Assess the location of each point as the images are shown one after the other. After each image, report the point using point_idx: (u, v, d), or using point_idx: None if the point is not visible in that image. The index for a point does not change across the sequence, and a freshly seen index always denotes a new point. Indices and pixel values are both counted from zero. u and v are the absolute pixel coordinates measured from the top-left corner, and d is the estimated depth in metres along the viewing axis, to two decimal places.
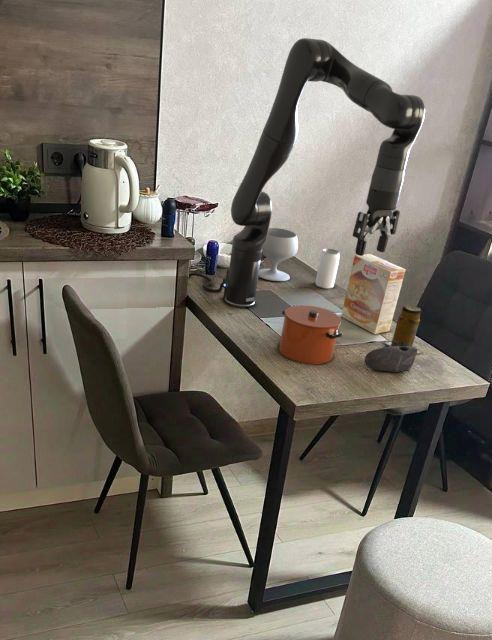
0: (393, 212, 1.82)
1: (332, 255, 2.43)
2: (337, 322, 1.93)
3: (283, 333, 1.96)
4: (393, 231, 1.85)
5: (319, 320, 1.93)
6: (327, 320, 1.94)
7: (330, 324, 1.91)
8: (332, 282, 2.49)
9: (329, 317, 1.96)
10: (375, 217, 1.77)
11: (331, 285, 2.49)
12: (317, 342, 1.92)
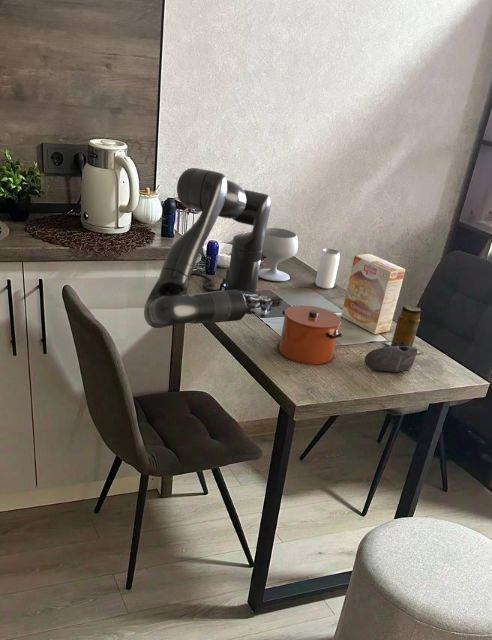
0: None
1: (332, 255, 2.43)
2: (337, 322, 1.93)
3: (283, 333, 1.96)
4: None
5: (319, 320, 1.93)
6: (327, 320, 1.94)
7: (330, 324, 1.91)
8: (332, 282, 2.49)
9: (329, 317, 1.96)
10: None
11: (331, 285, 2.49)
12: (317, 342, 1.92)
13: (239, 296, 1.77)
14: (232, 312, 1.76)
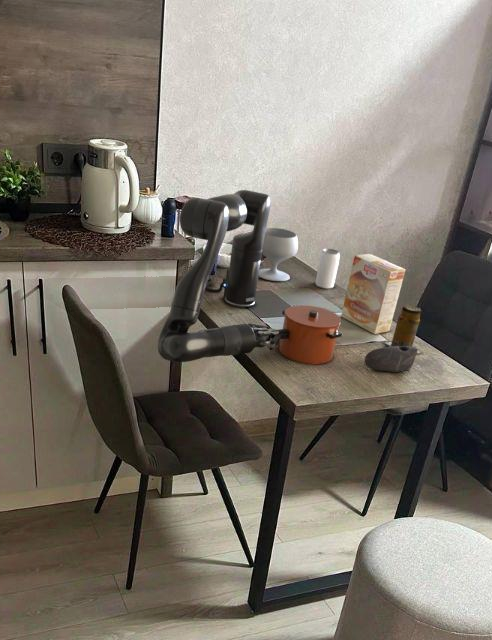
0: None
1: (332, 255, 2.43)
2: (337, 322, 1.93)
3: None
4: None
5: (319, 320, 1.93)
6: (327, 320, 1.94)
7: (330, 324, 1.91)
8: (332, 282, 2.49)
9: (329, 317, 1.96)
10: None
11: (331, 285, 2.49)
12: (317, 342, 1.92)
13: (249, 331, 1.84)
14: (242, 346, 1.84)
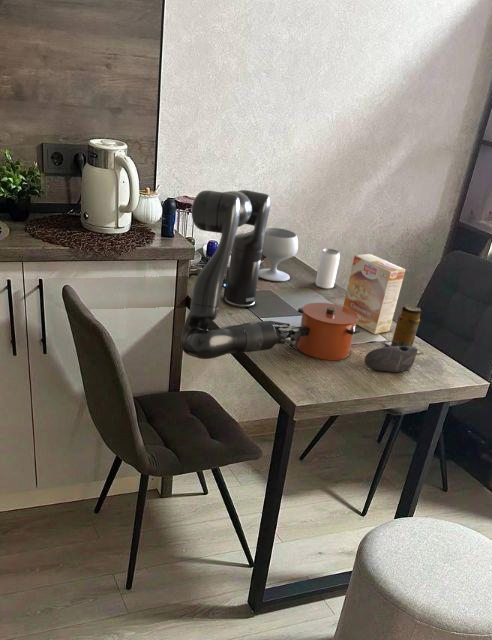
0: None
1: (332, 255, 2.43)
2: (355, 318, 1.97)
3: None
4: None
5: (338, 317, 1.96)
6: (345, 316, 1.98)
7: (349, 320, 1.95)
8: (332, 282, 2.49)
9: (346, 313, 2.00)
10: None
11: (331, 285, 2.49)
12: (338, 339, 1.95)
13: (270, 328, 1.87)
14: (263, 343, 1.87)
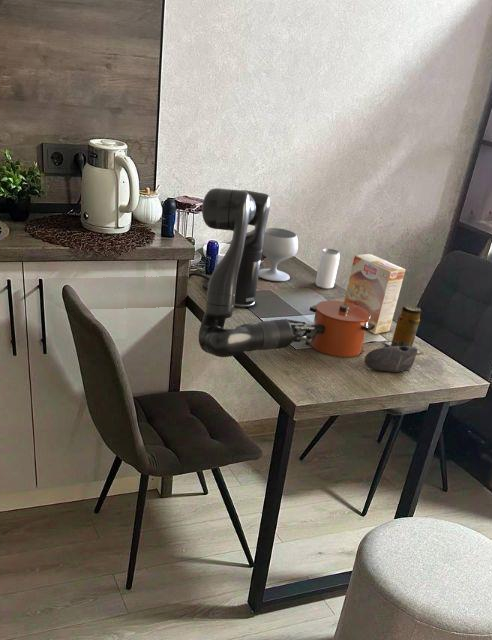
0: None
1: (332, 255, 2.43)
2: (368, 314, 2.01)
3: None
4: None
5: (352, 314, 1.99)
6: (358, 313, 2.01)
7: (363, 317, 1.99)
8: (332, 282, 2.49)
9: (358, 310, 2.03)
10: None
11: (331, 285, 2.49)
12: (353, 336, 1.98)
13: (286, 326, 1.89)
14: (280, 341, 1.89)
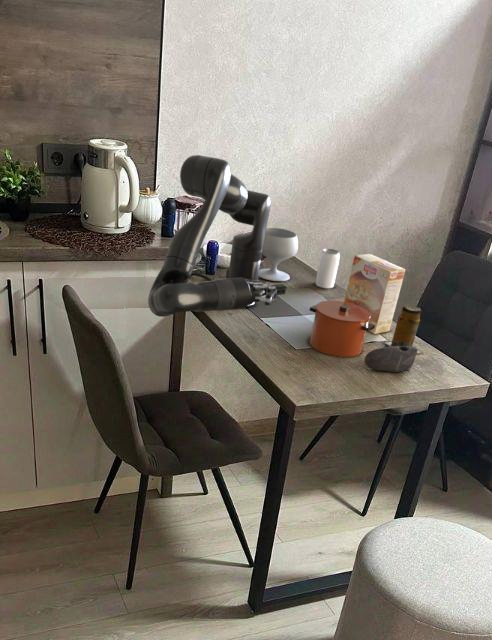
0: None
1: (332, 255, 2.43)
2: (368, 315, 2.01)
3: (317, 329, 2.02)
4: None
5: (352, 315, 1.99)
6: (358, 313, 2.01)
7: (363, 317, 1.99)
8: (332, 282, 2.49)
9: (358, 310, 2.03)
10: None
11: (331, 285, 2.49)
12: (353, 336, 1.98)
13: (244, 284, 1.76)
14: (237, 300, 1.75)
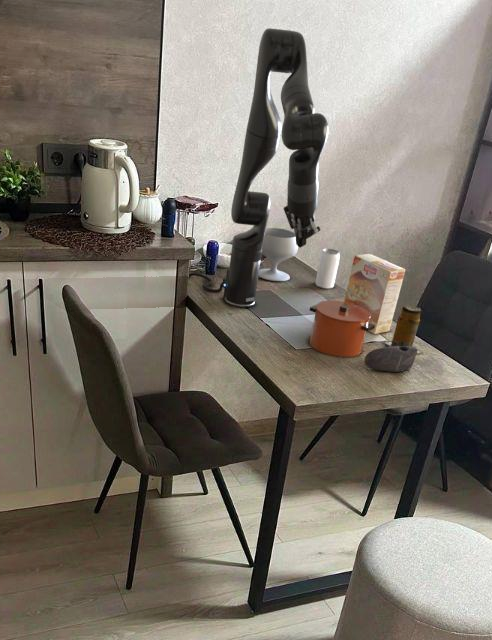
0: (312, 227, 1.84)
1: (332, 255, 2.43)
2: (368, 315, 2.01)
3: (317, 329, 2.02)
4: (303, 236, 1.89)
5: (352, 315, 1.99)
6: (358, 313, 2.01)
7: (363, 317, 1.99)
8: (332, 282, 2.49)
9: (358, 310, 2.03)
10: None
11: (331, 285, 2.49)
12: (353, 336, 1.98)
13: None
14: (311, 202, 1.79)
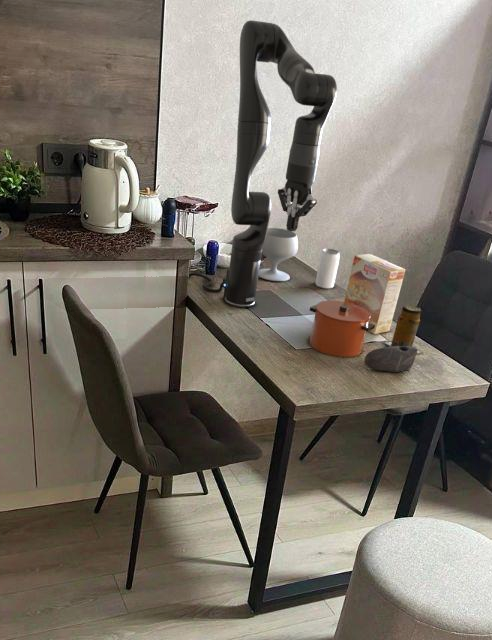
0: (309, 198, 1.87)
1: (332, 255, 2.43)
2: (368, 315, 2.01)
3: (317, 329, 2.02)
4: (297, 213, 1.90)
5: (352, 315, 1.99)
6: (358, 313, 2.01)
7: (363, 317, 1.99)
8: (332, 282, 2.49)
9: (358, 310, 2.03)
10: (288, 187, 1.90)
11: (331, 285, 2.49)
12: (353, 336, 1.98)
13: None
14: (312, 168, 1.84)
